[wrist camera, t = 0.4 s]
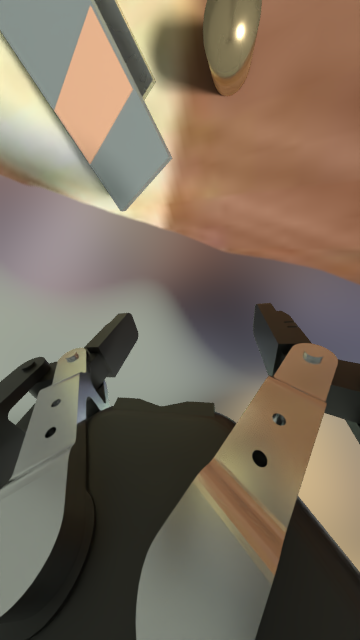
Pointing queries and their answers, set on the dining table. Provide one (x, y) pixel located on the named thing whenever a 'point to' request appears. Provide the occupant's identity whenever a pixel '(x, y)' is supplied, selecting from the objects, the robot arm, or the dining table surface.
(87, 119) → the seesaw board
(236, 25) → the ball
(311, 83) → the dining table surface
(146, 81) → the pivot stand
